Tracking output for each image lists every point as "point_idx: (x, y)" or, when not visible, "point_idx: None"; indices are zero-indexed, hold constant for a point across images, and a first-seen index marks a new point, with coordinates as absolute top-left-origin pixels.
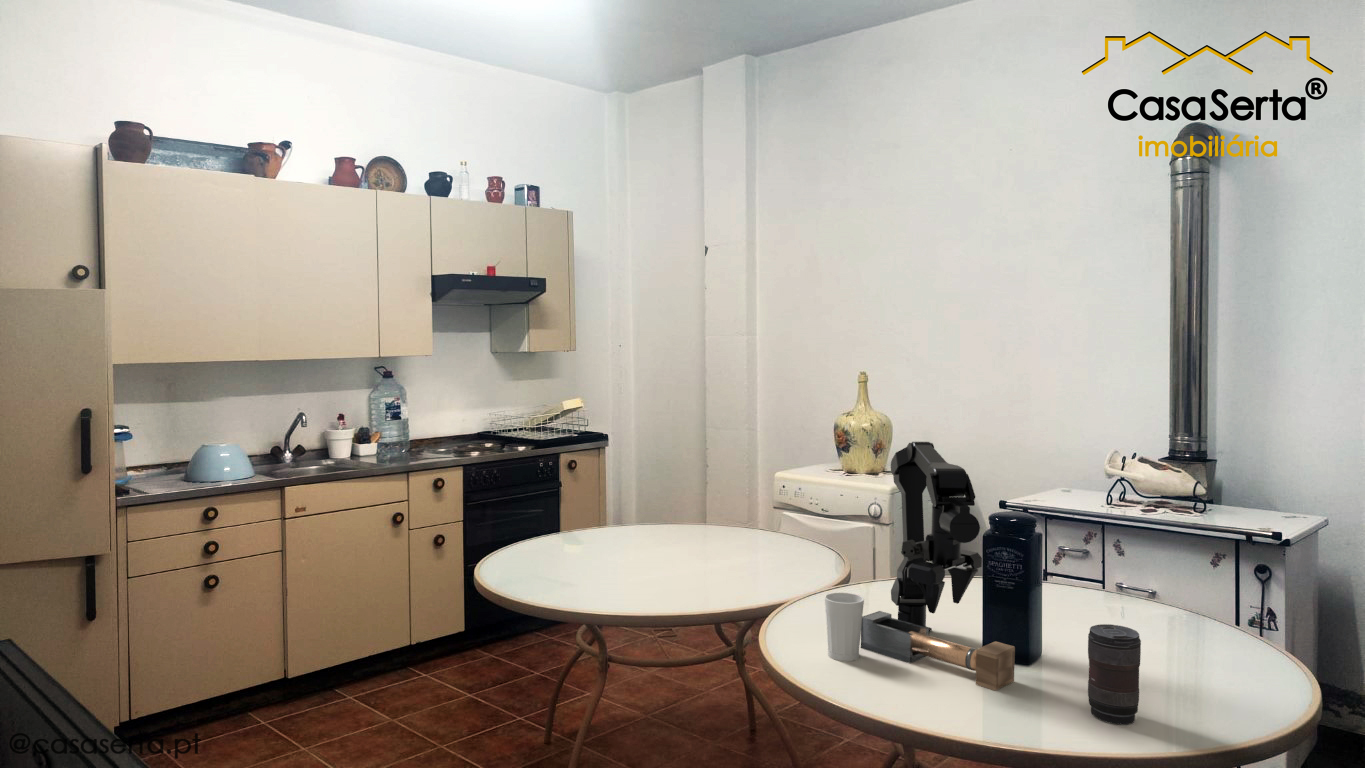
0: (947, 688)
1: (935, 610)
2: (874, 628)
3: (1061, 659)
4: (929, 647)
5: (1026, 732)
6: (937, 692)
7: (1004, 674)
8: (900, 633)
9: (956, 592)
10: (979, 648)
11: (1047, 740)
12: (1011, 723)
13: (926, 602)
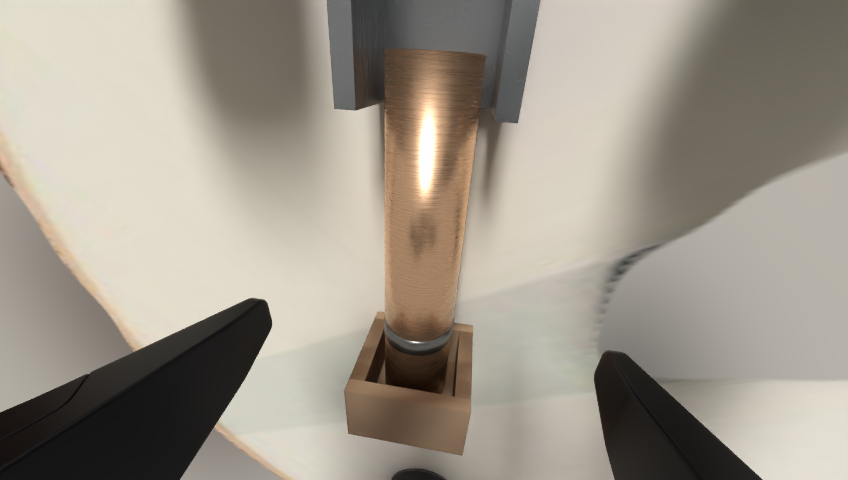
0: (300, 273)
1: (259, 345)
2: None
3: (729, 411)
4: (385, 188)
5: (259, 417)
6: (260, 265)
7: None
8: (332, 36)
9: (637, 459)
10: (359, 394)
11: (263, 437)
12: (266, 398)
13: (169, 339)
